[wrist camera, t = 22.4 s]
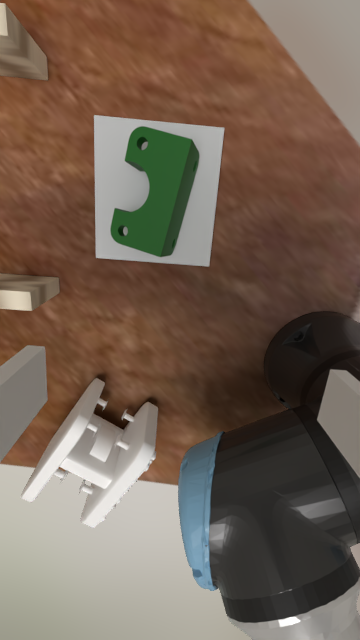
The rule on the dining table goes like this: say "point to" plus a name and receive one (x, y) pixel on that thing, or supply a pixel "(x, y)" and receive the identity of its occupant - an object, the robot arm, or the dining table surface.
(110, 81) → the dining table surface
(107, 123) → the grey pad
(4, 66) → the stand
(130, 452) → the cable organizer
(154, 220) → the clamp
